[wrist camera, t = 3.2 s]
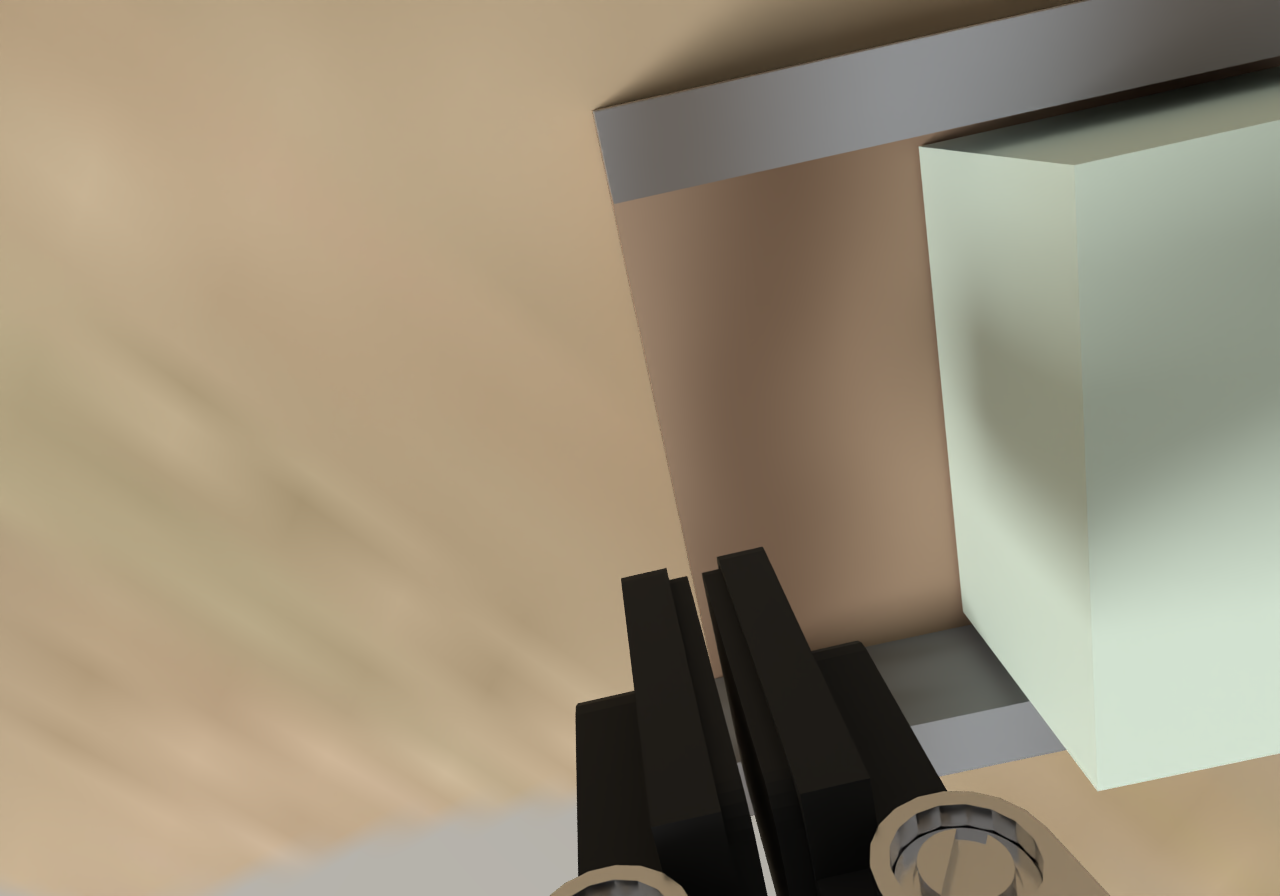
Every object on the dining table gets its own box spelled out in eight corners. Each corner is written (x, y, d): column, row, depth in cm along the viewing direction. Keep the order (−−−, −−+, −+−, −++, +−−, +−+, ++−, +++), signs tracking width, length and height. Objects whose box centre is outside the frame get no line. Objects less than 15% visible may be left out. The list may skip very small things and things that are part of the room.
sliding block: (1288, 64, 15) (1620, 43, 10) (1268, 546, 18) (1514, 705, 13) (918, 146, 15) (1074, 165, 10) (962, 611, 18) (1097, 791, 13)
